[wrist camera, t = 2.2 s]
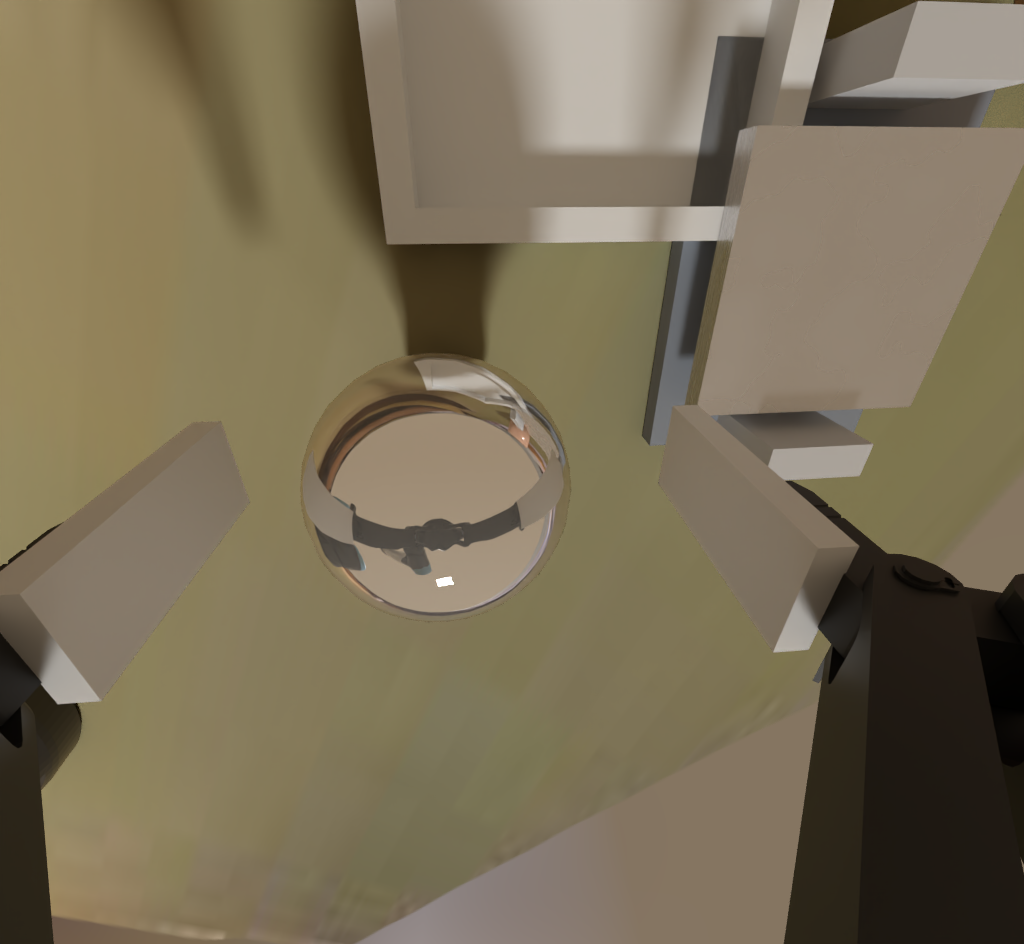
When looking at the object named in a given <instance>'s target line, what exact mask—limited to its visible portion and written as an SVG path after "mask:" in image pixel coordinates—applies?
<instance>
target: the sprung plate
mask: <svg viewBox="0 0 1024 944" xmlns="http://www.w3.org/2000/svg"><path fill="white" fill-rule="evenodd" d="M1023 164H1024V128H963V127H869V126H776V125H757V126H754V127H750V128H746V129H743V130H739V134H738V139H737V144H736V149H735V154H734V159H733V164H732V169H731V174H730V179H729V184H728V189H727V194H726V199H725V204H724V210H723V215H722V220H721V225H720V230H719V235H718V240H717V245H716V250H715V255H714V260H713V265H712V270H711V275H710V280H709V285H708V290H707V295H706V300H705V305H704V310H703V315H702V320H701V325H700V330H699V335H698V340H697V345H696V350H695V355H694V360H693V365H692V370H691V375H690V380H689V385H688V390H687V395H686V400H685V405H698V406H699V407H700V408H702V409H703V410H704V411H705V412H706V413H707V414H708V415H710V416H713V415H735V414H758V413H781V412H803V411H826V410H849V409H871V408H894V407H910V406H911V404H912V402H913V399H914V397H915V395H916V393H917V391H918V389H919V387H920V384H921V382H922V380H923V378H924V376H925V374H926V372H927V369H928V367H929V365H930V363H931V361H932V359H933V357H934V355H935V352H936V350H937V348H938V346H939V344H940V342H941V340H942V337H943V335H944V333H945V331H946V329H947V327H948V325H949V322H950V320H951V318H952V316H953V314H954V312H955V310H956V308H957V305H958V303H959V301H960V299H961V297H962V295H963V293H964V290H965V288H966V286H967V284H968V282H969V280H970V278H971V276H972V273H973V271H974V269H975V267H976V265H977V263H978V261H979V258H980V256H981V254H982V252H983V250H984V248H985V246H986V243H987V241H988V239H989V237H990V235H991V233H992V231H993V229H994V226H995V224H996V222H997V220H998V218H999V216H1000V214H1001V211H1002V209H1003V207H1004V205H1005V203H1006V201H1007V199H1008V196H1009V194H1010V192H1011V190H1012V188H1013V186H1014V184H1015V182H1016V179H1017V177H1018V175H1019V173H1020V171H1021V169H1022V167H1023Z"/></svg>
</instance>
